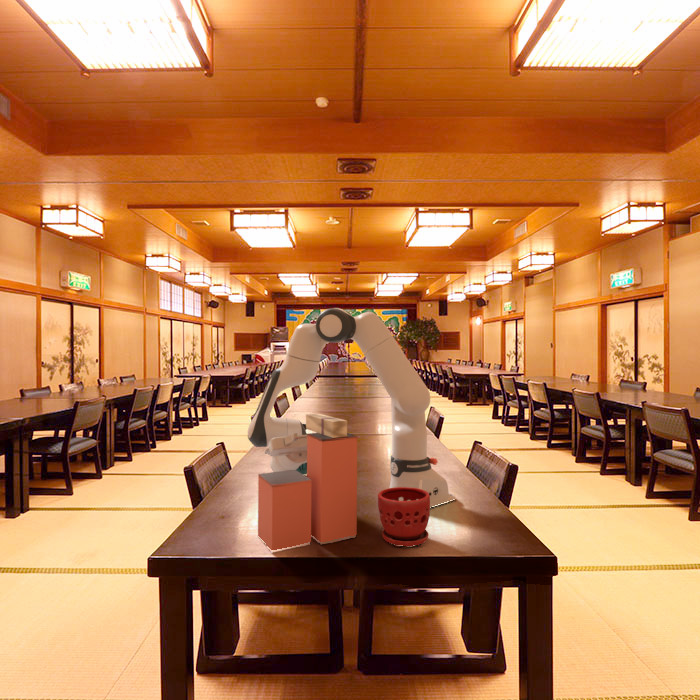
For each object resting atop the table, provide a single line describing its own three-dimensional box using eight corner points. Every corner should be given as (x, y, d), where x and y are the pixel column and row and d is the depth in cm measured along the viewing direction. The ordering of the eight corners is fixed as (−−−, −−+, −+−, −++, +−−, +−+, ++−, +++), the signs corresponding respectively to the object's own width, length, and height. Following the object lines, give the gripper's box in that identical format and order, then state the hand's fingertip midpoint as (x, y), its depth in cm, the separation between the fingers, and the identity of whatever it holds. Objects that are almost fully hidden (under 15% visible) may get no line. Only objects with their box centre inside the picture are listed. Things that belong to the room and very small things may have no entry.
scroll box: (319, 427, 131) (319, 413, 131) (347, 436, 116) (347, 420, 116) (305, 428, 129) (305, 414, 129) (332, 438, 114) (332, 421, 114)
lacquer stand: (334, 521, 128) (335, 428, 128) (356, 538, 117) (357, 436, 117) (257, 536, 118) (258, 435, 118) (274, 555, 107) (274, 444, 107)
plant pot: (424, 529, 123) (424, 485, 123) (434, 551, 110) (435, 501, 110) (375, 530, 122) (375, 485, 122) (380, 551, 109) (380, 501, 109)
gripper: (261, 444, 138) (274, 426, 127) (323, 437, 147) (339, 421, 137) (264, 464, 135) (278, 448, 124) (327, 456, 145) (344, 441, 134)
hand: (310, 434), depth 131 cm, fingers open, 8 cm apart
